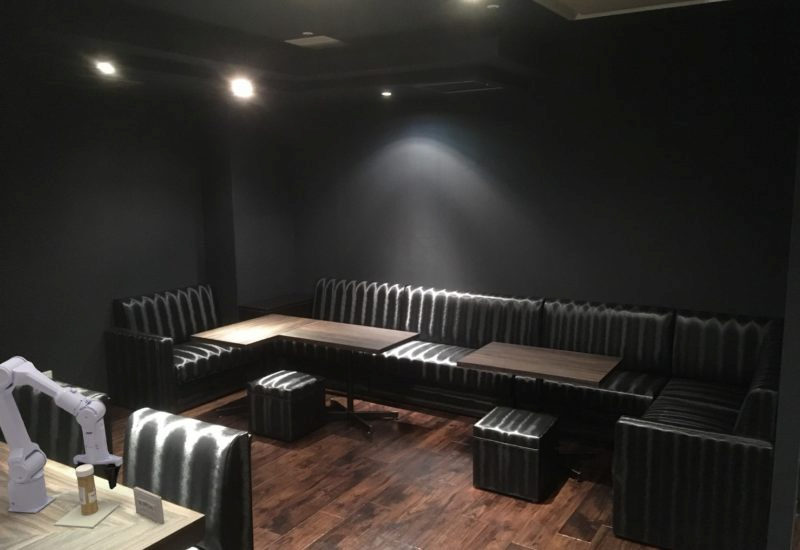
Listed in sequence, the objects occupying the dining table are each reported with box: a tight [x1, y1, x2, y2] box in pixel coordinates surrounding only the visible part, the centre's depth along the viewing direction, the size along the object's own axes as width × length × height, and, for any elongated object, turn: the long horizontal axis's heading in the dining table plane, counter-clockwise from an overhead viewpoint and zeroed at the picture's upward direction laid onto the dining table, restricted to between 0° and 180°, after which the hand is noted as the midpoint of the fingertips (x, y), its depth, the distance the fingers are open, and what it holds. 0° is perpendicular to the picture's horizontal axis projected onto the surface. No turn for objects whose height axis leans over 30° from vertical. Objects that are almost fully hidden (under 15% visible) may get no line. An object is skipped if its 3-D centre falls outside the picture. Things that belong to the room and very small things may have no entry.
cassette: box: [132, 486, 165, 525], centre depth 181 cm, size 12×2×8 cm, turn 55°
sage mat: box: [54, 502, 121, 530], centre depth 185 cm, size 12×12×1 cm
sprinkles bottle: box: [74, 464, 99, 515], centre depth 185 cm, size 5×5×14 cm
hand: (101, 486), depth 191 cm, fingers open, 7 cm apart
